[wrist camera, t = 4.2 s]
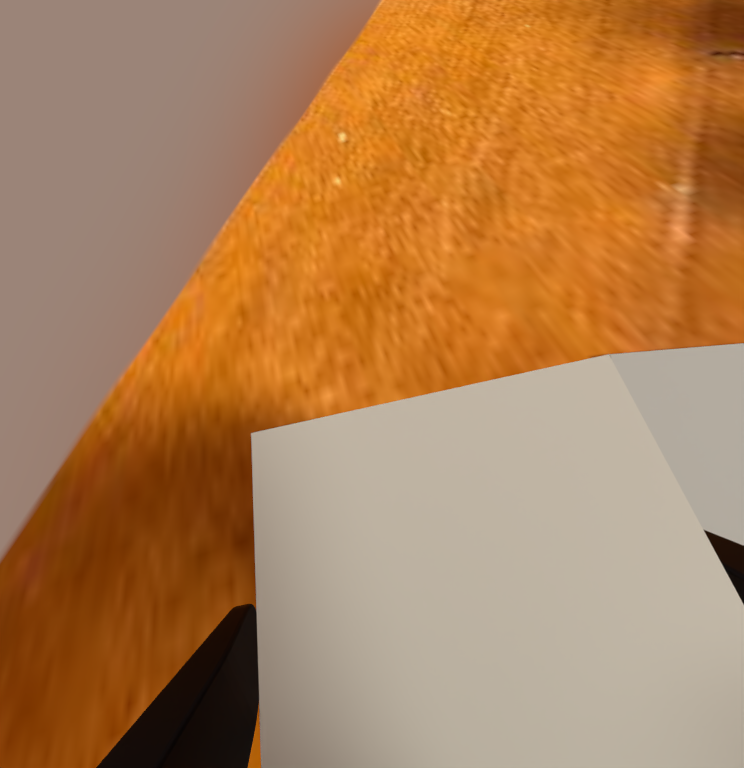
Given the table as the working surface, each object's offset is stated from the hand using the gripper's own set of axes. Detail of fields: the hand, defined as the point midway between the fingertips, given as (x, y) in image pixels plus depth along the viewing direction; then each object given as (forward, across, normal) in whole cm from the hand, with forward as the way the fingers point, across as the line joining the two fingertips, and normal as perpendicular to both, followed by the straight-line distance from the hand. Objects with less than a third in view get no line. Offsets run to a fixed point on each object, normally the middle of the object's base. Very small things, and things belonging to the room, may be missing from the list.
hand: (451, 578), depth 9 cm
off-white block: (+6, 0, +6) cm, 8 cm away
